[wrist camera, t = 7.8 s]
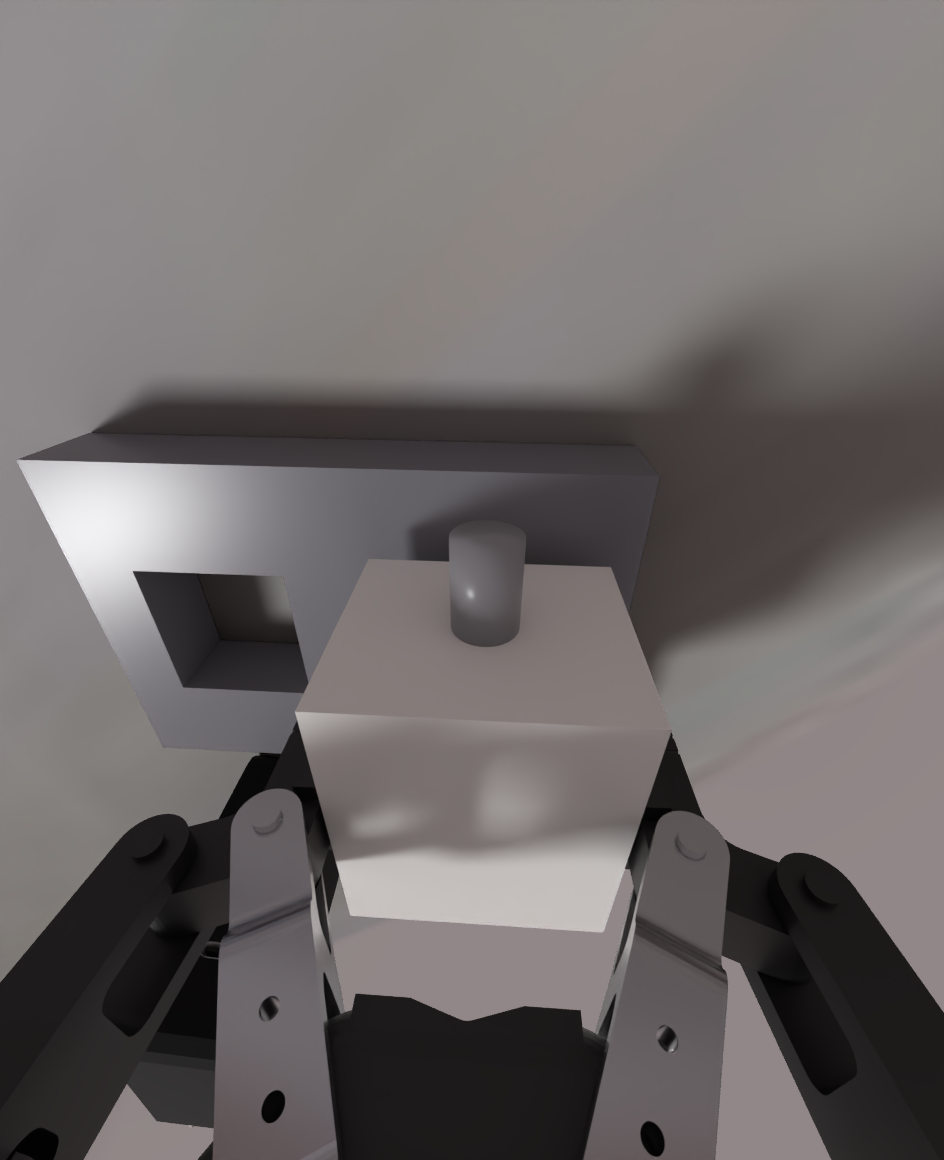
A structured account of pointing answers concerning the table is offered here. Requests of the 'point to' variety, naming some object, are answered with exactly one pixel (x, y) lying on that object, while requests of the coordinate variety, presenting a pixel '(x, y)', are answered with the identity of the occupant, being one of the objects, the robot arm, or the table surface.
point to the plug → (483, 737)
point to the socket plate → (300, 546)
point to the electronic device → (200, 1008)
